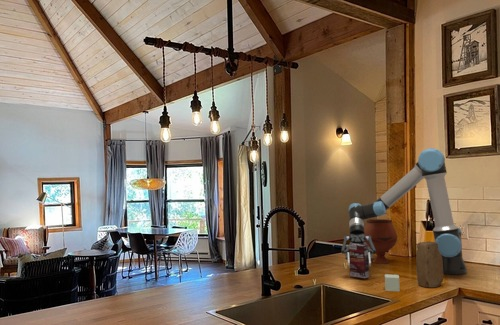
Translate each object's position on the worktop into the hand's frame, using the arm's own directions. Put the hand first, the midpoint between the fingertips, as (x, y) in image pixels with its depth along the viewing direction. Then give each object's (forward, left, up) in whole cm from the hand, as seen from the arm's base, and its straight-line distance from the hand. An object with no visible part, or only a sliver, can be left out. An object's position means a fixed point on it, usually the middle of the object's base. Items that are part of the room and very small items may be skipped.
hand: (359, 264), depth 204 cm
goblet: (-10, -46, -8) cm, 48 cm away
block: (-32, +4, -8) cm, 33 cm away
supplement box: (0, -3, -7) cm, 7 cm away
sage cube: (-15, +14, -8) cm, 22 cm away
